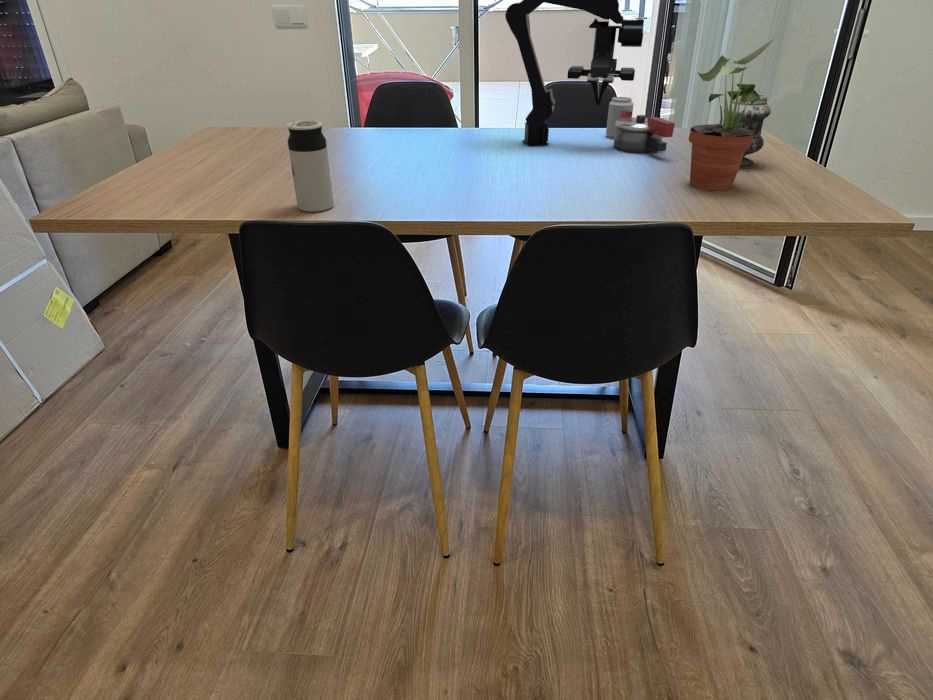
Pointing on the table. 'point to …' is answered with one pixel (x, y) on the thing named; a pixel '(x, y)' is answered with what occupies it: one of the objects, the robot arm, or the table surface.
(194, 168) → the table surface
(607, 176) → the table surface
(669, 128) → the lid
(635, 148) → the dark grey curved piece
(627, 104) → the can
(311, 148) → the travel mug
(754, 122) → the weathered urn vase
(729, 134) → the potted plant
